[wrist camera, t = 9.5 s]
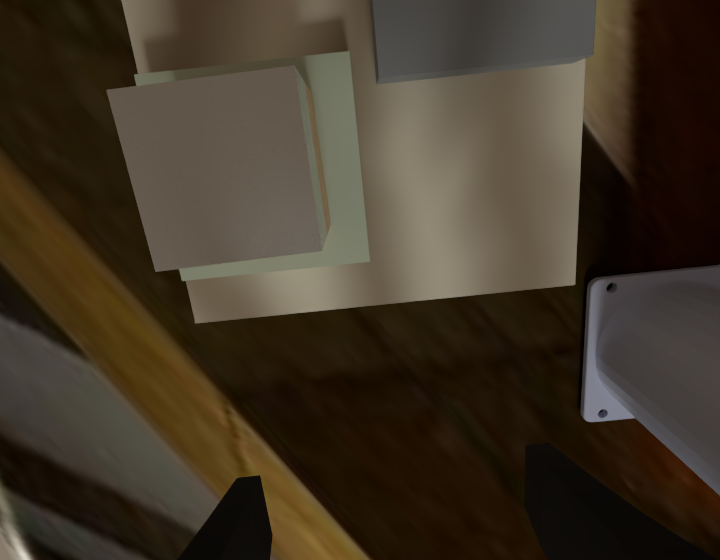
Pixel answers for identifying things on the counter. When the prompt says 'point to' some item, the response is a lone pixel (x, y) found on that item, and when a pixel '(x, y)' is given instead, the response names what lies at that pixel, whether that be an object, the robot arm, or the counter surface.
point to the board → (401, 161)
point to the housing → (224, 167)
